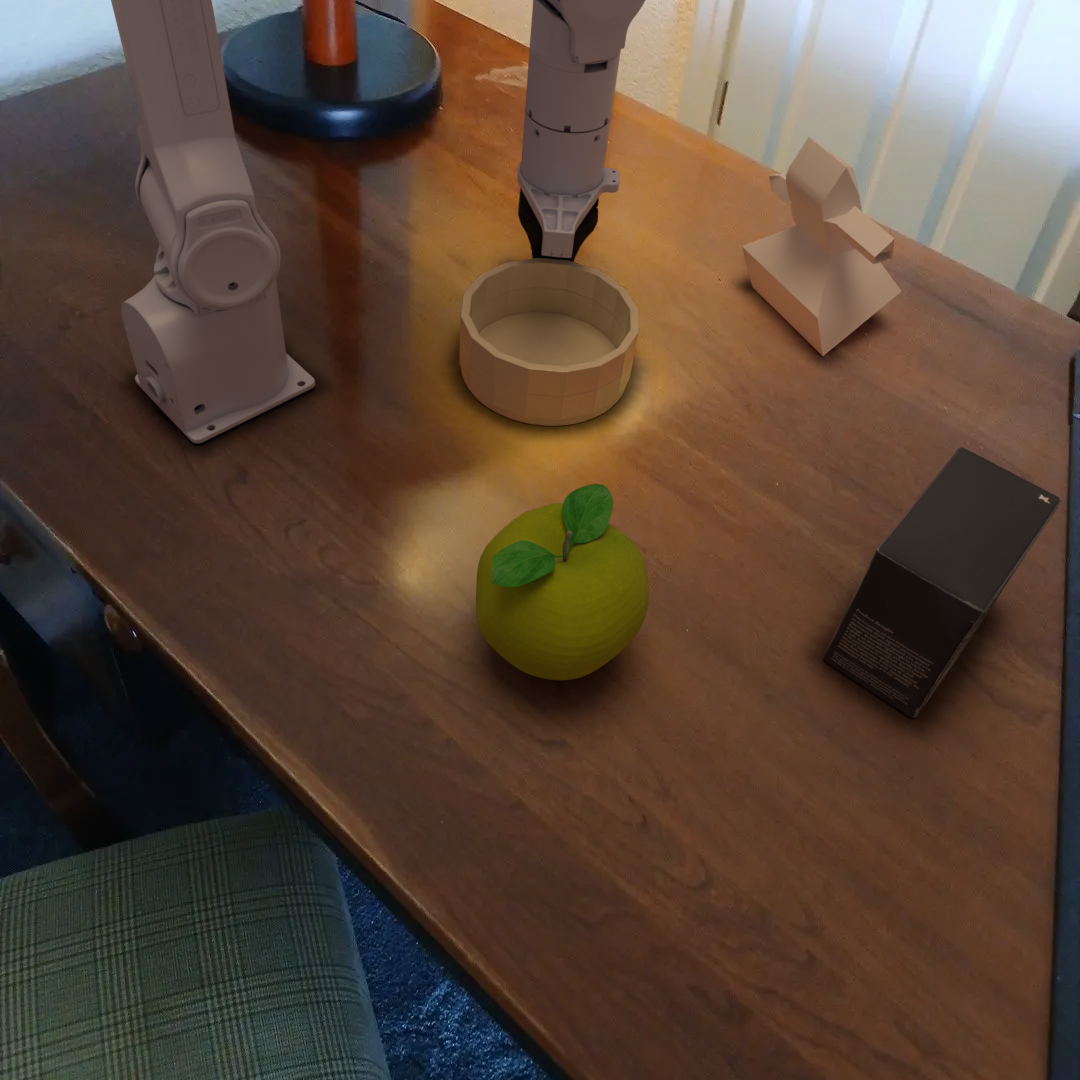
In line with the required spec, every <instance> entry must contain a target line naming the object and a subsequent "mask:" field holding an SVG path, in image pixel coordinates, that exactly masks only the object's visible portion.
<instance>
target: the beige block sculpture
mask: <svg viewBox="0 0 1080 1080" xmlns="http://www.w3.org/2000/svg"><path fill="white" fill-rule="evenodd" d="M768 179H769V185H770V191H771V193H772V194H774V195H775V196H776V197H777V198H779V200H781V201H782V203H785V204H787V205H789V206H790V211H791V216H792V219H793V221H794V223H795V225H794V226H791V227H789V228H786V229H783V230H781V231H778V232H774V233H773V234H770V235H768V236H765V237H762V238H759V239H757V240H754V241H751V242H749V243H746V244H744V245H741V249H742V252H743V257H744V260H745V264H746V268H747V272H748V275H749V279H750V282H751V287H752V289H753V290H754V291H756V293H758V294H759V296H761V297H762V299H764V300H765V302H767V303H768V304H769V305H770V306H771V307H772V308H773V309H774V311H776V312H777V313H778V314H779V315H780V316H781V317H782V318H783V319H784V320H785V321H786V322H787V323H788V324H789V325H790V326H791V327H792V328H793V329H794V330H795V331H796V332H797V333H798V334H799V335H800V336H802V338H803V339H805V341H807V343H808V344H809V345H811V346H812V347H813V348H814V349H815V350H816V351H817V352H818V353H819V354H820V355H821V356H822V357H824V356H825V355H826V354H828V353H829V352H830V351H831V350H832V349H834V348H835V347H836V346H837V345H839V344H840V343H841V342H843V340H844V339H846V338H847V337H848V336H850V335H851V334H852V333H853V332H855V330H857V329H858V328H859V327H860V326H862V325H863V324H864V323H865V322H866V321H867V320H869V319H870V318H871V317H872V316H874V315H875V314H876V313H877V312H878V311H880V310H881V309H882V308H883V307H885V306H886V305H887V304H888V303H889V302H890V301H892V300H893V299H894V298H896V297H897V296H898V295H900V293H902V290H901V288H900V287H899V285H898V284H897V283H896V282H895V280H894V279H893V278H892V276H891V275H890V273H889V272H888V271H887V269H886V268H885V267H884V265H883V264H882V263H884V262H886V261H891V260H893V256H894V255H893V253H894V247H895V238H894V237H893V236H892V235H891V234H890V233H889V232H887V231H886V230H885V229H883V228H882V227H881V226H880V225H879V224H877V222H875V221H874V220H872V218H871V217H869V216H868V215H866V214H865V213H864V212H863V207H862V204H861V203H862V201H861V196H860V195H861V194H860V192H859V188H858V183H857V179H856V174H855V170H854V167H853V166H852V165H850V164H848V163H847V162H846V161H844V160H843V159H842V158H840V157H839V156H837V155H835V154H834V153H833V152H831V151H830V150H829V149H827V148H825V147H824V146H822V145H821V144H820V143H818V142H817V141H816V140H814V139H812V138H811V137H810V136H807V139H806V140H805V142H804V144H803V145H802V146H801V148H800V149H799V151H798V152H797V154H796V156H795V157H794V159H793V160H792V162H791V163H790V165H789V166H788V169H787V171H786V173H774V174H769V175H768Z"/></svg>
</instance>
